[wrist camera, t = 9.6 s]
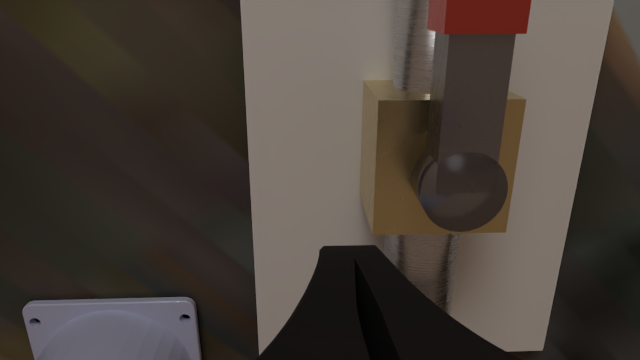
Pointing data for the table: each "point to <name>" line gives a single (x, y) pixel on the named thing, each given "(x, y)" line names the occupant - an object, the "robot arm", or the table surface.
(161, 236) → the table surface
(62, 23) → the table surface
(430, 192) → the valve lever
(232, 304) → the table surface
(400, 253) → the valve body
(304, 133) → the mounting board
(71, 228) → the table surface
